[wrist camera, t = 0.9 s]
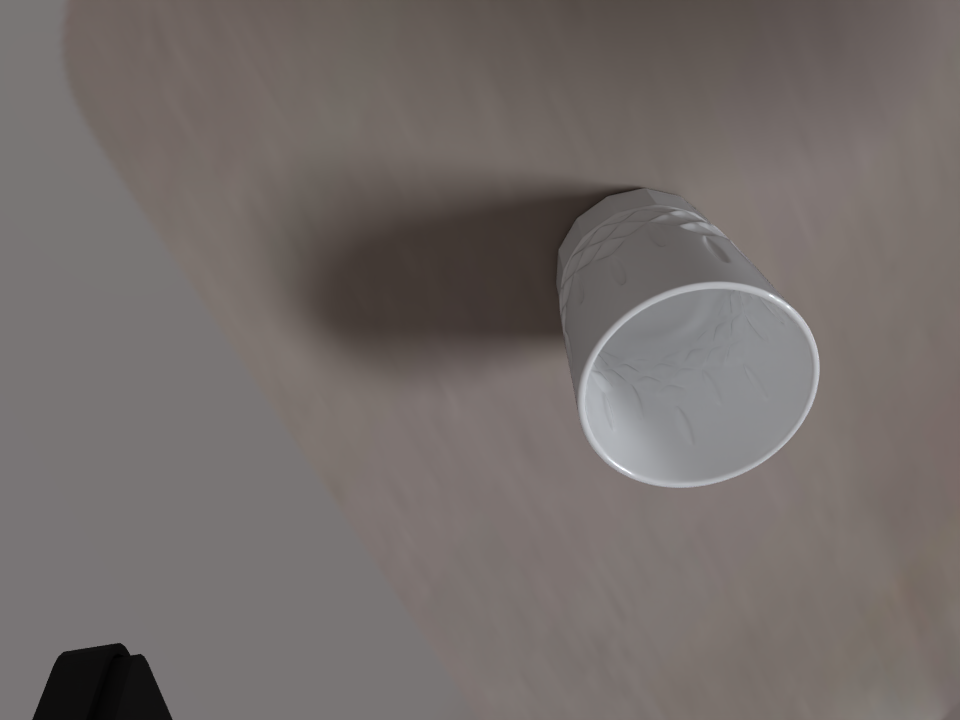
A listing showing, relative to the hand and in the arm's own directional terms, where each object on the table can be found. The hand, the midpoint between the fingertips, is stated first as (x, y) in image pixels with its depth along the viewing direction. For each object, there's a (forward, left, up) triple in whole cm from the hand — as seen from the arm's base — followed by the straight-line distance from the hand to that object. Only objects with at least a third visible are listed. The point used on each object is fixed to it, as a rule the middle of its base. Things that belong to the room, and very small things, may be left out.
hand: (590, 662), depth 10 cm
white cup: (0, +11, -28) cm, 30 cm away
